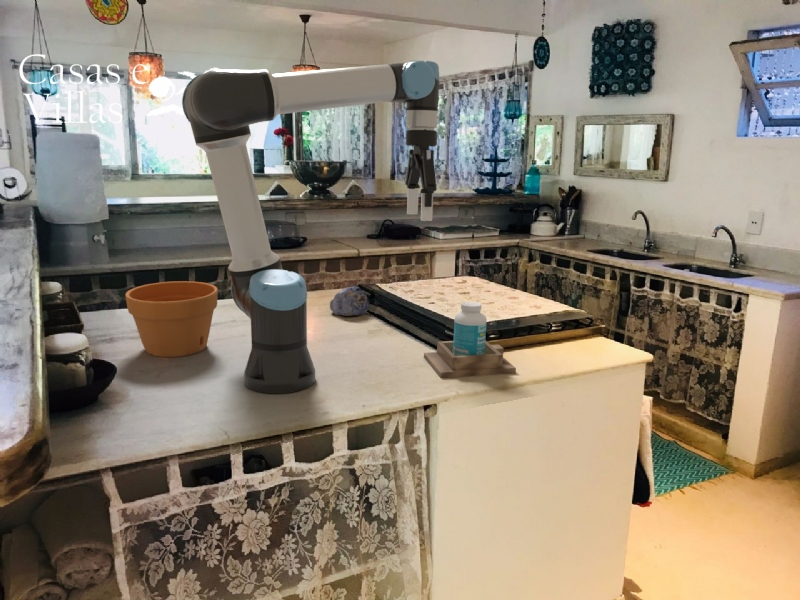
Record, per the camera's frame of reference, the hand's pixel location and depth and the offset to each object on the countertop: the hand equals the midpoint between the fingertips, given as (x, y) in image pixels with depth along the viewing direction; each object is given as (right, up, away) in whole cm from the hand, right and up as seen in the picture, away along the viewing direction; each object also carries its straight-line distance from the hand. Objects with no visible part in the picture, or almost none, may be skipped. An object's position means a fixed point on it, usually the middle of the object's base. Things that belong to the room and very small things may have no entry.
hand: (419, 217), depth 161 cm
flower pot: (-60, -33, -1) cm, 69 cm away
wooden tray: (+11, -36, -8) cm, 39 cm away
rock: (-21, -25, +35) cm, 48 cm away
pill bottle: (+11, -35, -9) cm, 38 cm away
